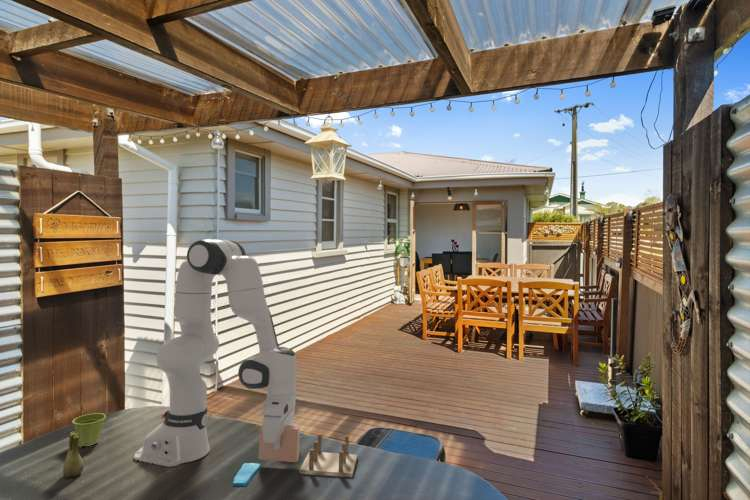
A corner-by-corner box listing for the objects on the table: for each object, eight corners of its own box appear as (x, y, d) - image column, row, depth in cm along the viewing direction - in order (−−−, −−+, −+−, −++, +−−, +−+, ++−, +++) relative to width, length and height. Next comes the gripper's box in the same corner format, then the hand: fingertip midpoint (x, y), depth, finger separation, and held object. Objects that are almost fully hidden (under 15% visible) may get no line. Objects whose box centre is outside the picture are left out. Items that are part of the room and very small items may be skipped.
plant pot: (110, 442, 142) (111, 417, 142) (79, 452, 134) (80, 426, 134) (97, 435, 147) (98, 411, 147) (66, 445, 139) (67, 419, 139)
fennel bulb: (66, 471, 123) (68, 430, 123) (86, 468, 124) (87, 428, 125) (59, 481, 117) (61, 438, 117) (80, 478, 119) (81, 436, 119)
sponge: (225, 482, 117) (245, 482, 117) (243, 462, 129) (261, 461, 128) (226, 488, 117) (245, 487, 116) (243, 467, 129) (261, 466, 128)
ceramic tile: (258, 459, 127) (260, 426, 128) (261, 455, 130) (262, 423, 130) (296, 462, 126) (297, 429, 127) (298, 458, 129) (300, 426, 129)
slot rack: (299, 473, 124) (300, 449, 124) (309, 455, 136) (309, 433, 136) (352, 477, 123) (352, 452, 123) (357, 458, 135) (357, 435, 135)
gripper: (281, 389, 139) (279, 430, 139) (259, 411, 119) (257, 460, 118) (300, 390, 139) (298, 432, 138) (281, 413, 118) (278, 461, 118)
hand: (279, 445), depth 128 cm, fingers closed on ceramic tile, 2 cm apart
